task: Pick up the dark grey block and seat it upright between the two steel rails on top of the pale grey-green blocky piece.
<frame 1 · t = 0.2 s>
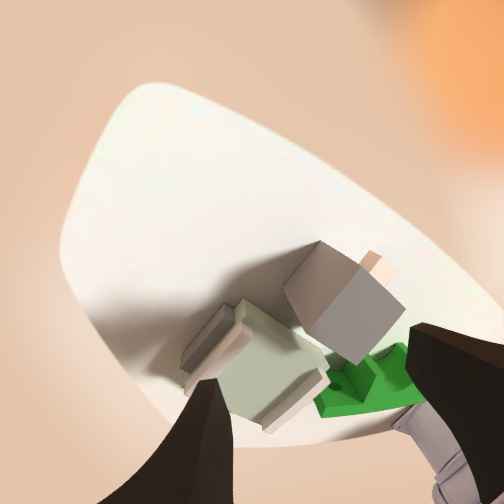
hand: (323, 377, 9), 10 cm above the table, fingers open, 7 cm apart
dark grey block: (322, 281, 19), on the table
pale grey-green blocky piece: (253, 359, 19), on the table
pipe clamp: (370, 360, 21), on the table
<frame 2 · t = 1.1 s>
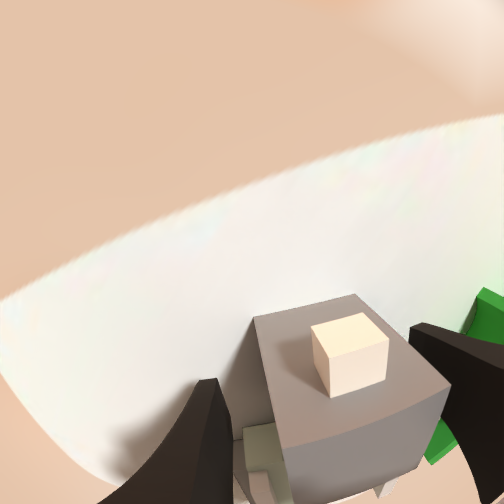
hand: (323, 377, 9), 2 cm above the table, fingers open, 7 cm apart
dark grey block: (310, 348, 11), on the table
pale grey-green blocky piece: (317, 448, 12), on the table
pipe clamp: (459, 337, 12), on the table
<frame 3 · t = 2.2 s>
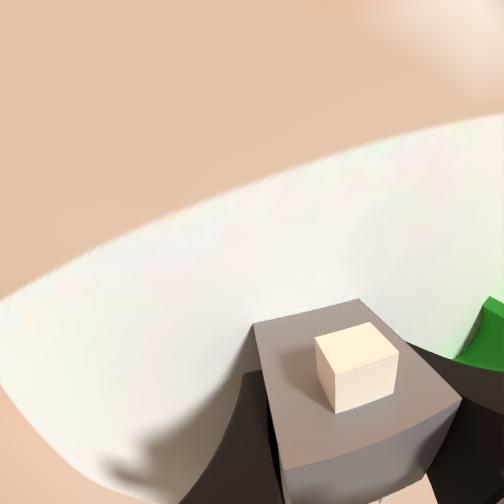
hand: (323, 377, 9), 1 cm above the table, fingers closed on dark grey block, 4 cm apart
dark grey block: (312, 355, 10), on the table, touching gripper
pipe clamp: (465, 345, 12), on the table
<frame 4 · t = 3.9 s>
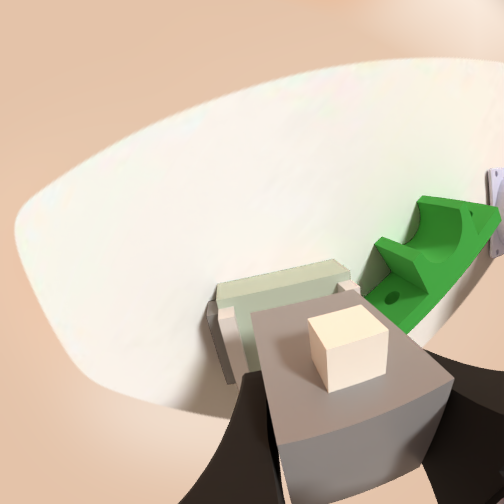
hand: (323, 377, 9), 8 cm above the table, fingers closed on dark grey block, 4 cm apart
dark grey block: (308, 345, 11), point 7 cm above the table, touching gripper
pale grey-green blocky piece: (285, 322, 17), on the table
pipe clamp: (410, 238, 17), on the table
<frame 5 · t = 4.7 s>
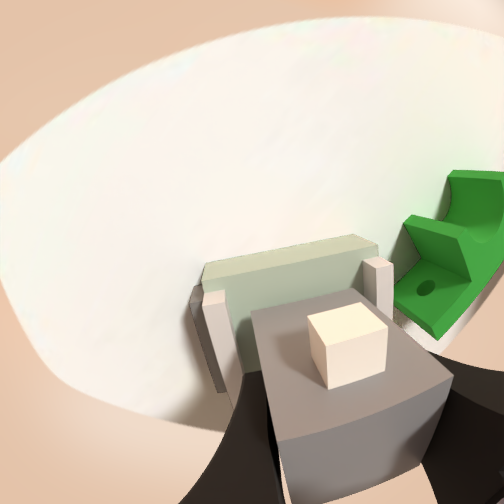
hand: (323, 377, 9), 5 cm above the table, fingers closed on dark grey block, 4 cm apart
dark grey block: (308, 344, 11), point 3 cm above the table, touching gripper
pale grey-green blocky piece: (292, 314, 14), on the table
pipe clamp: (440, 220, 14), on the table
when the fingers open (5 cm above the table, at t = 5.6 s): dark grey block stays where it is, resting on pale grey-green blocky piece.
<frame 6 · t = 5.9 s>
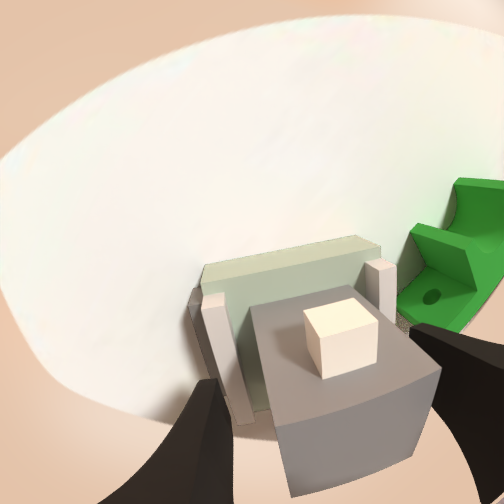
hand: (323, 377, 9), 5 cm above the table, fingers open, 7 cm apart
dark grey block: (305, 338, 11), point 2 cm above the table, touching pale grey-green blocky piece
pale grey-green blocky piece: (293, 317, 14), on the table
pipe clamp: (446, 227, 14), on the table
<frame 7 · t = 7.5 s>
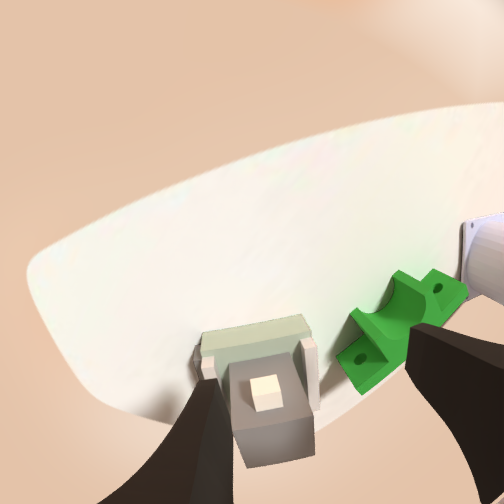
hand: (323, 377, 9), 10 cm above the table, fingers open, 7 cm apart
dark grey block: (263, 380, 18), point 2 cm above the table, touching pale grey-green blocky piece
pale grey-green blocky piece: (259, 362, 20), on the table
pipe clamp: (384, 305, 21), on the table
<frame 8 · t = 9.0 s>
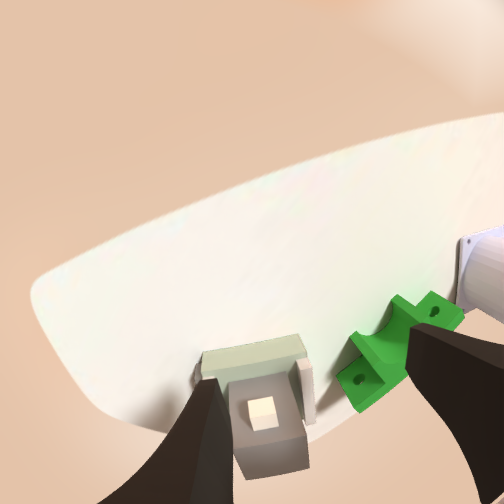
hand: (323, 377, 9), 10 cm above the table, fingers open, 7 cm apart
dark grey block: (261, 396, 18), point 2 cm above the table, touching pale grey-green blocky piece
pale grey-green blocky piece: (258, 378, 21), on the table
pipe clamp: (382, 327, 21), on the table
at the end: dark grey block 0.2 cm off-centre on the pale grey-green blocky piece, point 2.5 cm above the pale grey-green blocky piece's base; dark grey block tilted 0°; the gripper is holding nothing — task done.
